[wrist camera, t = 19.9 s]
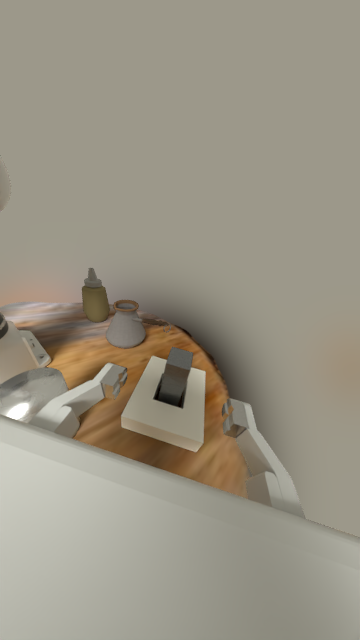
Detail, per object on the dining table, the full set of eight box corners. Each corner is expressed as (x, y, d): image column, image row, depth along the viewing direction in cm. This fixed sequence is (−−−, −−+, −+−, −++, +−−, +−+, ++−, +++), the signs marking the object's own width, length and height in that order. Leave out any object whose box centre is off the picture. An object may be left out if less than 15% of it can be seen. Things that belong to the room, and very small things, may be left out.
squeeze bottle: (93, 327, 45) (84, 273, 36) (80, 317, 48) (68, 265, 39) (115, 319, 51) (111, 271, 42) (102, 310, 54) (96, 264, 45)
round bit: (25, 427, 22) (-15, 385, 16) (75, 401, 26) (58, 360, 20) (28, 472, 18) (-24, 440, 12) (84, 433, 23) (68, 395, 16)
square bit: (156, 407, 28) (166, 363, 21) (162, 389, 32) (172, 346, 24) (174, 413, 28) (190, 370, 21) (178, 394, 31) (193, 352, 24)
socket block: (121, 427, 24) (120, 415, 22) (150, 367, 36) (152, 355, 34) (196, 452, 23) (203, 443, 21) (200, 382, 35) (205, 371, 33)
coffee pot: (99, 338, 41) (92, 293, 34) (131, 325, 50) (131, 287, 42) (144, 383, 32) (148, 335, 24) (174, 358, 40) (185, 317, 33)
